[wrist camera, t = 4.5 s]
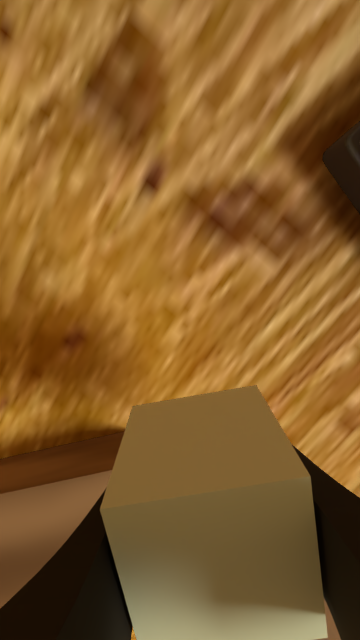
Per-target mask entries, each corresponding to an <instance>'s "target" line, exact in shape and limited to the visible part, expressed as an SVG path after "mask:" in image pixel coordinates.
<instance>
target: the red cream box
mask: <svg viewBox="0 0 360 640" xmlns="http://www.w3.org/2000/svg"><path fill="white" fill-rule="evenodd" d="M323 162H324V164H325V165H326V167H327V168H328V170H329V171H330V173H331V174H332V175H333V177H334V178H335V180H336V181H337V183H338V184H339V185H340V187H341V188H342V190H343V191H344V192H345V194H346V195H347V197H348V198H349V200H350V201H351V202H352V204H353V205H354V207H355V208H356V209H357V211H358V212H359V214H360V121H359V122H358V123H357V124H355V125H354V126H353V127H352V128H351V129H350V130H349V131H347V132H346V133H345V134H344V135H343V136H342V137H341V138H339V139H338V140H337V141H336V142H335V143H334V144H333V145H331V146H330V147H329V148H328V149H327V150H326V151H325V152H324V154H323Z"/></svg>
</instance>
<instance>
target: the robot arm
mask: <svg viewBox="0 0 360 640" xmlns="http://www.w3.org/2000/svg"><path fill="white" fill-rule="evenodd" d="M292 446H293V445H292ZM293 448H294V449H295V451H296V453H297V454H298V456H299V458H300V459H301V461H302V463H303V464H304V466H305V468H306V469H307V471H308V473H309V474H310V476H311V485H312V495H313V504H314V513H315V523H316V532H317V541H318V551H319V560H320V569H321V579H322V588H323V597H324V607H325V616H326V625H327V634H328V638H322V639H315V640H360V498H359V497H358V496H356V495H355V494H353V493H352V492H350V491H349V490H348V489H346V488H345V487H344V486H342V485H341V484H339V483H338V482H337V481H336V480H334V479H333V478H332V477H330V476H329V475H328V474H327V473H325V472H324V471H323V470H321V469H320V468H319V467H318V466H316V465H315V464H314V463H313V462H312V461H311V460H309V459H308V458H307V457H306V456H305V455H303V454H302V453H301V452H300V451H299V450H298V449H297V448H295V447H294V446H293ZM105 491H106V489H105V490H104V492H103V493H102V495H101V496H100V498H99V499H98V500H97V502H96V503H95V504H94V506H93V507H92V509H91V510H90V511H89V513H88V514H87V515H86V517H85V518H84V519H83V521H82V522H81V523H80V524H79V526H78V527H77V528H76V529H75V531H74V532H73V533H72V534H71V536H70V537H69V538H68V539H67V541H66V542H65V543H64V544H63V545H62V546H61V548H60V549H59V550H58V551H57V552H56V553H55V554H54V556H53V557H52V558H51V559H50V560H49V561H48V562H47V563H46V564H45V565H44V566H43V567H42V568H41V570H40V571H39V572H38V573H37V574H36V575H35V576H34V577H33V578H32V579H31V580H30V581H28V582H27V583H26V584H25V585H24V586H23V587H22V588H21V589H20V590H19V591H18V592H17V593H16V594H15V595H14V596H13V597H12V598H11V599H10V600H9V601H8V602H7V603H6V604H5V605H4V606H2V607H1V608H0V640H131V633H132V622H131V618H130V615H129V611H128V607H127V604H126V600H125V597H124V593H123V590H122V586H121V583H120V579H119V576H118V572H117V568H116V565H115V561H114V558H113V554H112V551H111V547H110V544H109V540H108V537H107V533H106V529H105V526H104V522H103V519H102V515H101V512H100V507H101V504H102V501H103V498H104V495H105Z"/></svg>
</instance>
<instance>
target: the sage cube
mask: <svg viewBox="0 0 360 640" xmlns="http://www.w3.org/2000/svg"><path fill="white" fill-rule="evenodd" d="M100 512H101V515H102V519H103V522H104V526H105V529H106V533H107V537H108V540H109V544H110V547H111V551H112V554H113V558H114V561H115V565H116V568H117V572H118V576H119V579H120V583H121V586H122V590H123V593H124V597H125V600H126V604H127V607H128V611H129V615H130V618H131V622H132V625H133V629H134V632H135V636H136V639H137V640H315V639H322V638H328V634H327V625H326V616H325V607H324V597H323V588H322V579H321V569H320V560H319V551H318V541H317V532H316V523H315V513H314V504H313V495H312V485H311V476H310V474H309V473H308V471H307V469H306V468H305V466H304V464H303V463H302V461H301V459H300V458H299V456H298V454H297V453H296V451H295V449H294V448H293V446H292V444H291V443H290V441H289V439H288V438H287V436H286V434H285V433H284V431H283V429H282V428H281V426H280V424H279V423H278V421H277V419H276V418H275V416H274V414H273V413H272V411H271V409H270V408H269V406H268V404H267V402H266V401H265V399H264V397H263V396H262V394H261V392H260V391H259V389H258V387H257V386H256V385H254V386H248V387H242V388H237V389H231V390H225V391H219V392H213V393H207V394H201V395H195V396H189V397H184V398H178V399H172V400H166V401H160V402H154V403H148V404H142V405H136V406H133V407H132V410H131V413H130V416H129V419H128V423H127V426H126V429H125V432H124V435H123V438H122V441H121V444H120V448H119V451H118V454H117V457H116V460H115V463H114V466H113V470H112V473H111V476H110V479H109V482H108V485H107V488H106V491H105V495H104V498H103V501H102V504H101V507H100Z"/></svg>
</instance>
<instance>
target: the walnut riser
mask: <svg viewBox="0 0 360 640" xmlns="http://www.w3.org/2000/svg"><path fill="white" fill-rule="evenodd" d="M124 432H125V431H124ZM124 432H120V433H115V434H111V435H106V436H102V437H97V438H93V439H88V440H84V441H79V442H75V443H70V444H66V445H61V446H57V447H52V448H48V449H43V450H39V451H34V452H30V453H25V454H21V455H16V456H12V457H7V458H3V459H0V608H1V607H2V606H4V605H5V604H6V603H7V602H8V601H9V600H10V599H11V598H12V597H13V596H14V595H15V594H16V593H17V592H18V591H19V590H20V589H21V588H22V587H23V586H24V585H25V584H26V583H27V582H28V581H30V580H31V579H32V578H33V577H34V576H35V575H36V574H37V573H38V572H39V571H40V570H41V568H42V567H43V566H44V565H45V564H46V563H47V562H48V561H49V560H50V559H51V558H52V557H53V556H54V554H55V553H56V552H57V551H58V550H59V549H60V548H61V546H62V545H63V544H64V543H65V542H66V541H67V539H68V538H69V537H70V536H71V534H72V533H73V532H74V531H75V529H76V528H77V527H78V526H79V524H80V523H81V522H82V521H83V519H84V518H85V517H86V515H87V514H88V513H89V511H90V510H91V509H92V507H93V506H94V504H95V503H96V502H97V500H98V499H99V498H100V496H101V495H102V493H103V492H104V490H105V489H106V488H107V485H108V482H109V479H110V476H111V473H112V470H113V466H114V463H115V460H116V457H117V454H118V451H119V448H120V444H121V441H122V438H123V435H124Z"/></svg>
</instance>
